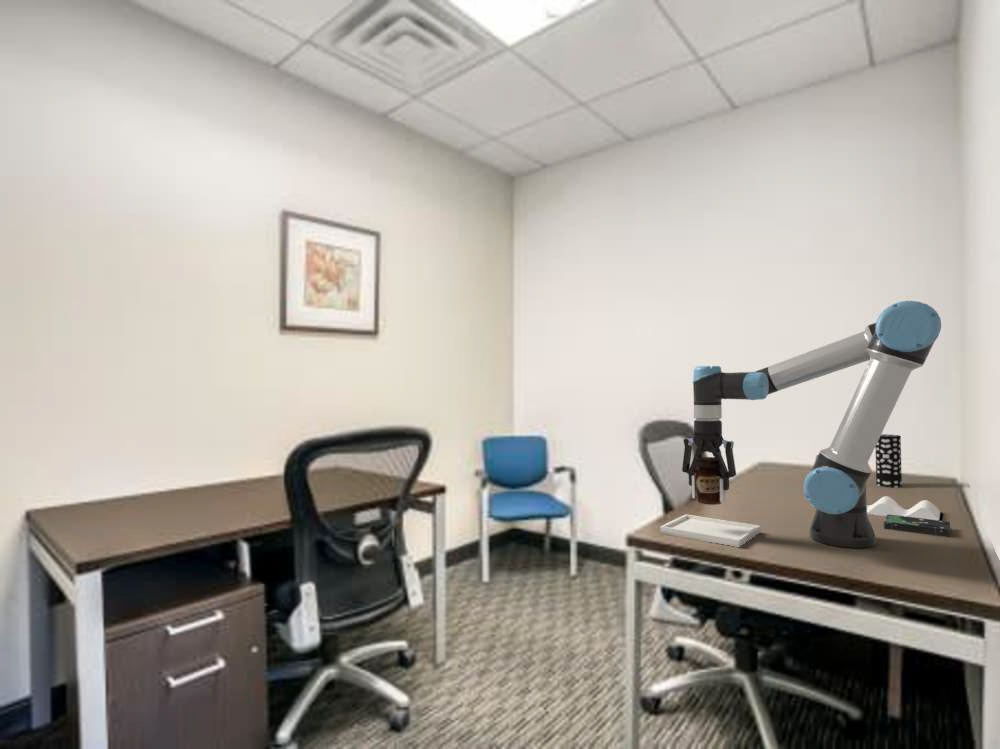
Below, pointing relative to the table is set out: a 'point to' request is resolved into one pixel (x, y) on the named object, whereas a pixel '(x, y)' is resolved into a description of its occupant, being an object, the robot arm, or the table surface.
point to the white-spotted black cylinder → (888, 461)
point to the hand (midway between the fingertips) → (708, 499)
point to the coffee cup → (708, 480)
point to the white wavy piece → (892, 508)
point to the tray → (711, 530)
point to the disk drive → (917, 525)
